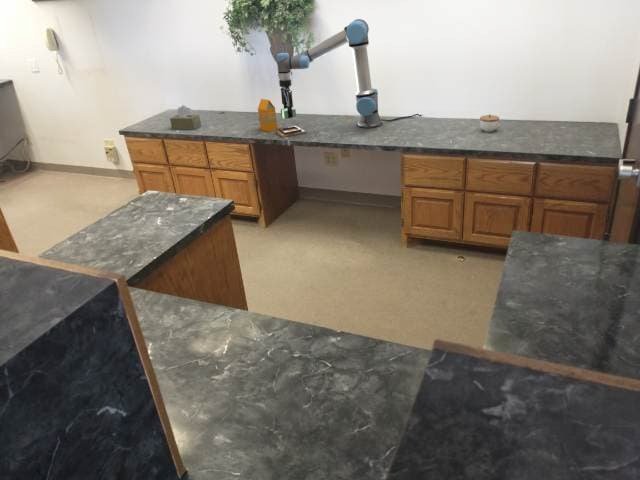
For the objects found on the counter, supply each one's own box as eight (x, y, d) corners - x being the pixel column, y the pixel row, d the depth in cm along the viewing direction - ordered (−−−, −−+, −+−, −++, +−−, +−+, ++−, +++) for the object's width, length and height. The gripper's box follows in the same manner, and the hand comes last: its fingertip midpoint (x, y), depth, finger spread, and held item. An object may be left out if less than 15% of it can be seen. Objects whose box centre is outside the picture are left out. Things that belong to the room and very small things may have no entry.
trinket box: (488, 134, 295) (489, 118, 291) (475, 130, 304) (476, 114, 299) (502, 130, 299) (503, 114, 295) (488, 126, 308) (490, 111, 304)
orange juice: (269, 127, 347) (265, 97, 337) (277, 129, 341) (274, 98, 332) (260, 130, 342) (256, 100, 333) (268, 132, 336) (264, 101, 327)
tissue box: (201, 125, 364) (197, 103, 357) (194, 129, 356) (190, 107, 349) (178, 125, 370) (174, 103, 363) (171, 129, 362) (166, 107, 354)
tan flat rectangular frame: (298, 128, 338) (298, 124, 337) (305, 132, 328) (305, 128, 327) (275, 133, 333) (275, 129, 332) (282, 137, 323) (281, 133, 322)
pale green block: (292, 115, 329) (292, 107, 327) (296, 116, 325) (295, 109, 322) (281, 117, 327) (280, 109, 324) (284, 119, 322) (283, 111, 320)
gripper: (274, 78, 321) (278, 114, 332) (284, 82, 306) (288, 120, 317) (285, 76, 324) (288, 112, 335) (296, 80, 308) (299, 118, 319)
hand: (288, 116), depth 326 cm, fingers closed on pale green block, 6 cm apart
